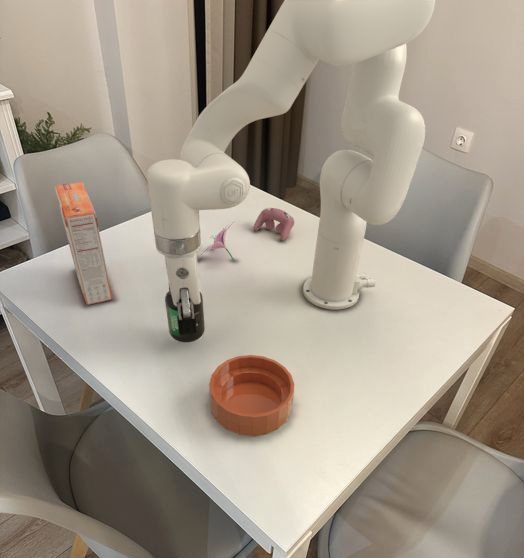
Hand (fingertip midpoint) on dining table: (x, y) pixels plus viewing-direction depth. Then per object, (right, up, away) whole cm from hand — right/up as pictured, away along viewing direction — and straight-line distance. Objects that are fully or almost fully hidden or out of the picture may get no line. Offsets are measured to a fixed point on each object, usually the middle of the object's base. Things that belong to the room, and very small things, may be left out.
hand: (185, 319), depth 98 cm
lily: (+4, +17, +27) cm, 32 cm away
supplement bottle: (0, -2, +2) cm, 3 cm away
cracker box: (-23, +8, +16) cm, 29 cm away
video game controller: (+17, +25, +37) cm, 48 cm away
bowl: (+13, -16, -7) cm, 21 cm away
